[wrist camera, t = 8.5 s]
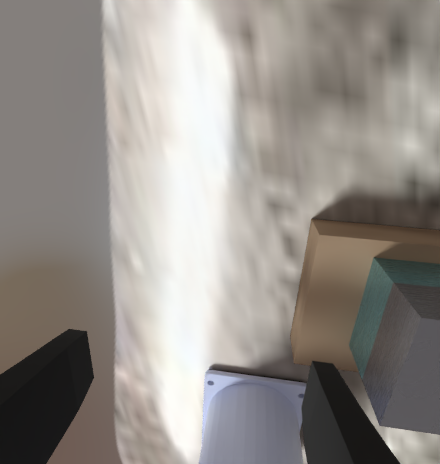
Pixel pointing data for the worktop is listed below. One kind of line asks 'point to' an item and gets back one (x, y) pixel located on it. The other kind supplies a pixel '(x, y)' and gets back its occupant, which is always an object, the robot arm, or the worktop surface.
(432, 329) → the block
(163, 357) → the worktop surface
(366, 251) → the tan flat block
